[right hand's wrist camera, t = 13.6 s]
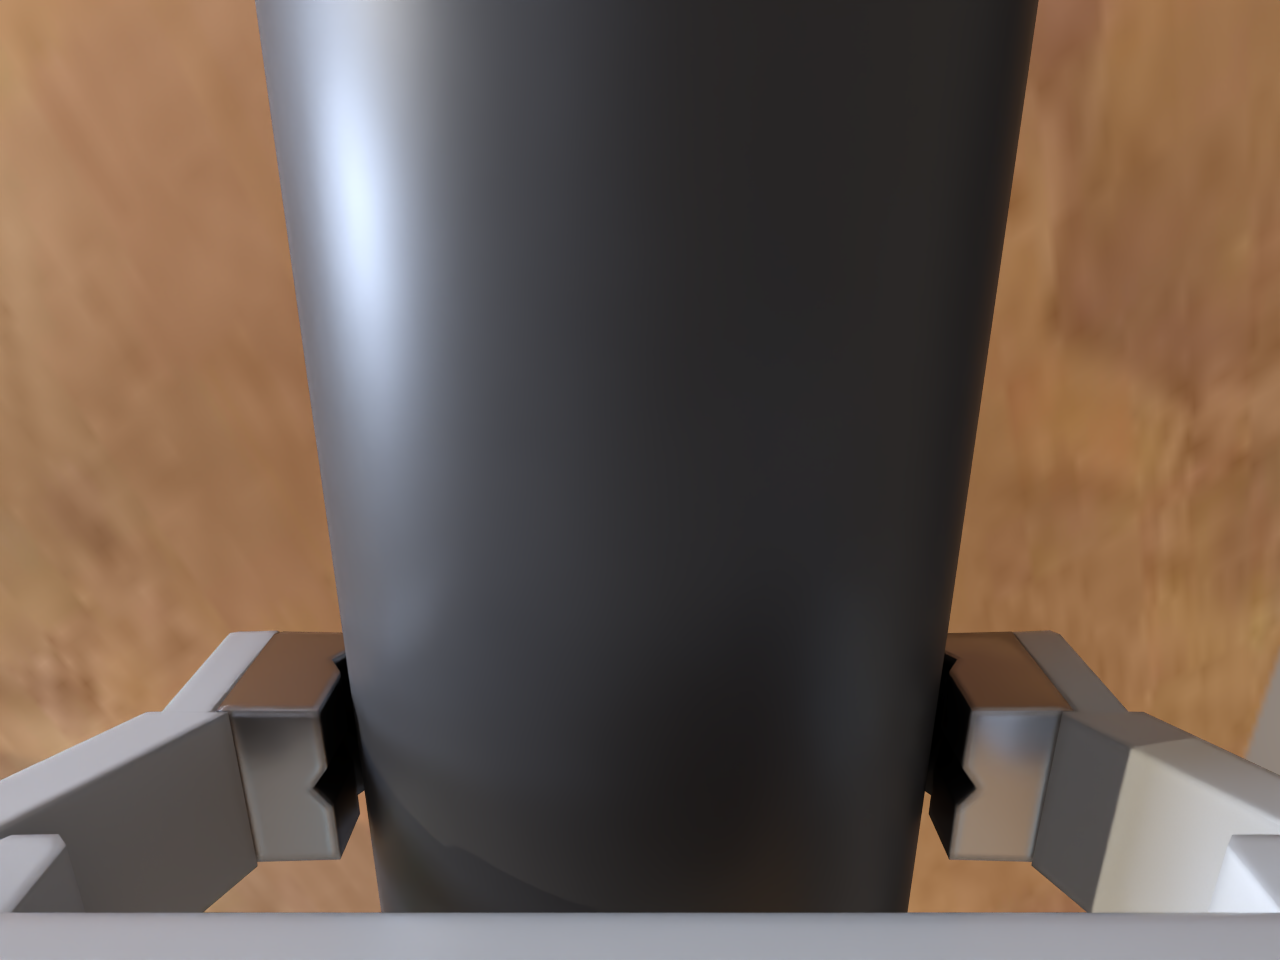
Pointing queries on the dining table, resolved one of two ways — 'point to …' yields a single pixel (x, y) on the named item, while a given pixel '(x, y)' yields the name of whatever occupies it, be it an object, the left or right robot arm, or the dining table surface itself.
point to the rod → (645, 426)
